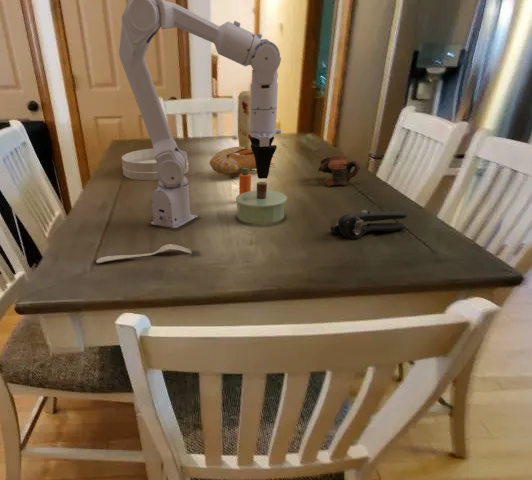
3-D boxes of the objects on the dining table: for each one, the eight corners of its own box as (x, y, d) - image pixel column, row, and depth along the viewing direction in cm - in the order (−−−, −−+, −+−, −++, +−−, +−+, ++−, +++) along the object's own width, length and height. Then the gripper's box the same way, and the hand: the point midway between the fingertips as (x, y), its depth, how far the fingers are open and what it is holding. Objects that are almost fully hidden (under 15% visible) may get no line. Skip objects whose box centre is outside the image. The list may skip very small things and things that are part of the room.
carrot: (247, 206, 123) (247, 170, 118) (237, 204, 124) (237, 169, 119) (252, 203, 125) (253, 167, 120) (242, 201, 126) (242, 166, 121)
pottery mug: (316, 188, 136) (314, 158, 135) (323, 194, 144) (321, 167, 143) (358, 179, 130) (357, 148, 129) (363, 186, 139) (362, 158, 138)
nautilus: (273, 169, 155) (277, 183, 143) (209, 167, 155) (208, 182, 143) (276, 143, 150) (281, 156, 138) (209, 141, 149) (209, 154, 138)
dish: (112, 179, 150) (109, 162, 147) (137, 162, 167) (135, 147, 164) (177, 181, 145) (176, 164, 142) (196, 164, 162) (195, 148, 159)
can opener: (341, 245, 100) (345, 219, 96) (326, 234, 105) (329, 209, 102) (413, 233, 103) (419, 208, 100) (395, 223, 109) (400, 199, 105)
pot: (271, 228, 109) (272, 210, 106) (228, 221, 114) (228, 203, 112) (291, 214, 117) (293, 196, 114) (251, 207, 122) (251, 190, 119)
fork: (100, 269, 100) (96, 257, 98) (195, 251, 100) (192, 238, 98) (99, 275, 97) (95, 263, 96) (196, 256, 98) (194, 243, 96)
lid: (272, 213, 106) (273, 193, 104) (226, 206, 112) (226, 186, 109) (295, 198, 115) (296, 179, 112) (251, 192, 120) (251, 174, 117)
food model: (236, 150, 177) (236, 89, 165) (253, 149, 178) (254, 88, 165) (239, 156, 169) (239, 92, 157) (257, 155, 170) (258, 91, 158)
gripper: (284, 112, 95) (281, 181, 103) (279, 102, 107) (276, 165, 115) (250, 113, 95) (249, 182, 104) (248, 103, 107) (248, 166, 115)
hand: (261, 173), depth 109 cm, fingers open, 7 cm apart
